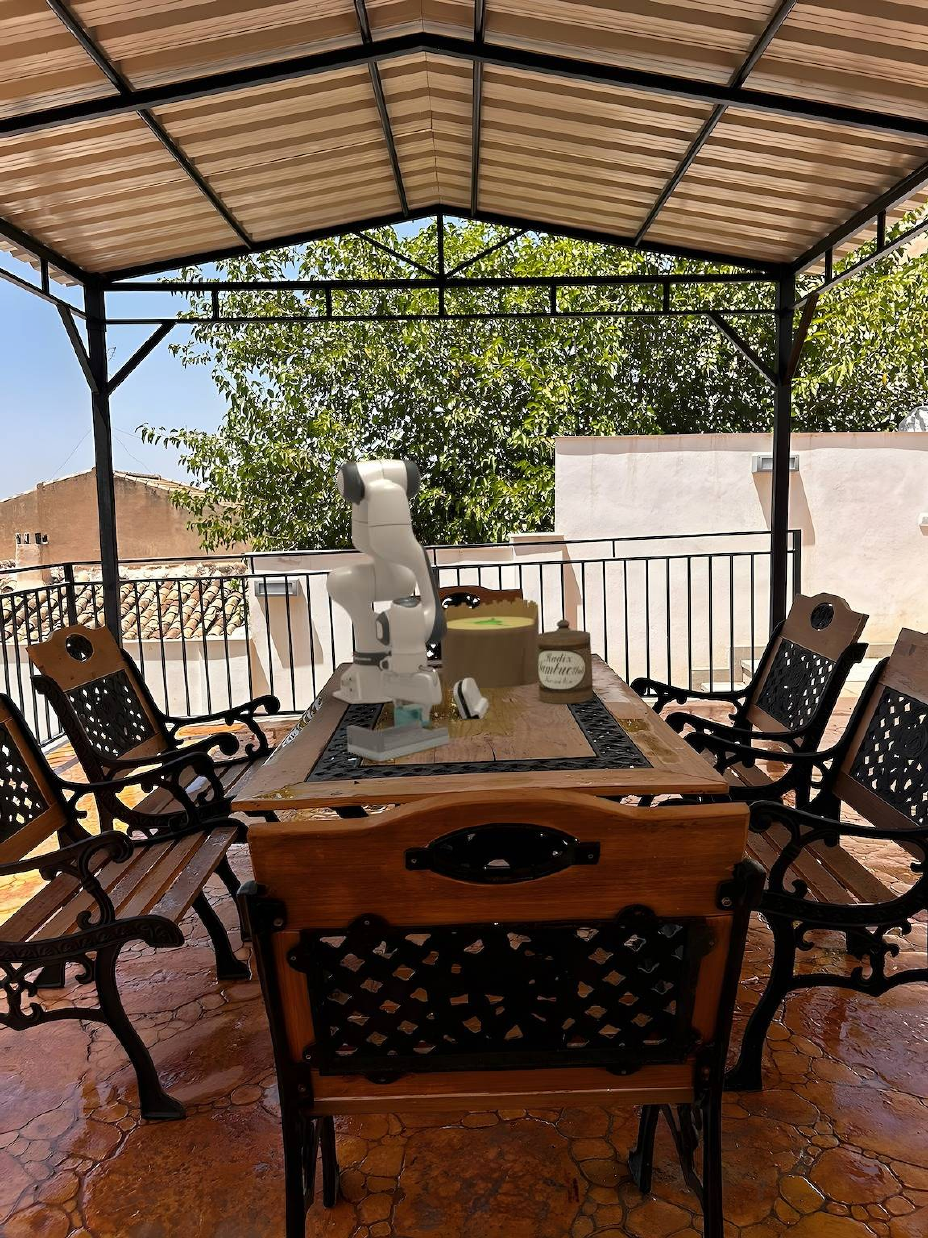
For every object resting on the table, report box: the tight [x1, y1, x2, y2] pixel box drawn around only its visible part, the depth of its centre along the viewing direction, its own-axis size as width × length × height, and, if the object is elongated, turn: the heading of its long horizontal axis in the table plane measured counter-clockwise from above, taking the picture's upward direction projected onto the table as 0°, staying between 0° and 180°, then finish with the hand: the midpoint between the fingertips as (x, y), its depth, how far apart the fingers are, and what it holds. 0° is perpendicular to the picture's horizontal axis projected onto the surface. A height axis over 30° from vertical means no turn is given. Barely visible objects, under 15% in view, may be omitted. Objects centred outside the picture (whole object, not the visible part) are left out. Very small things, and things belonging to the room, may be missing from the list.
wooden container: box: [537, 619, 594, 705], centre depth 248 cm, size 15×15×22 cm
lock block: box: [393, 702, 431, 728], centre depth 225 cm, size 6×8×5 cm
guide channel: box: [345, 721, 451, 763], centre depth 204 cm, size 12×20×6 cm, turn 131°
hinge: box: [452, 678, 490, 720], centre depth 237 cm, size 17×5×10 cm, turn 172°
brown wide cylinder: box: [440, 597, 540, 689], centre depth 282 cm, size 32×35×24 cm
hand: (412, 718), depth 225 cm, fingers open, 8 cm apart
